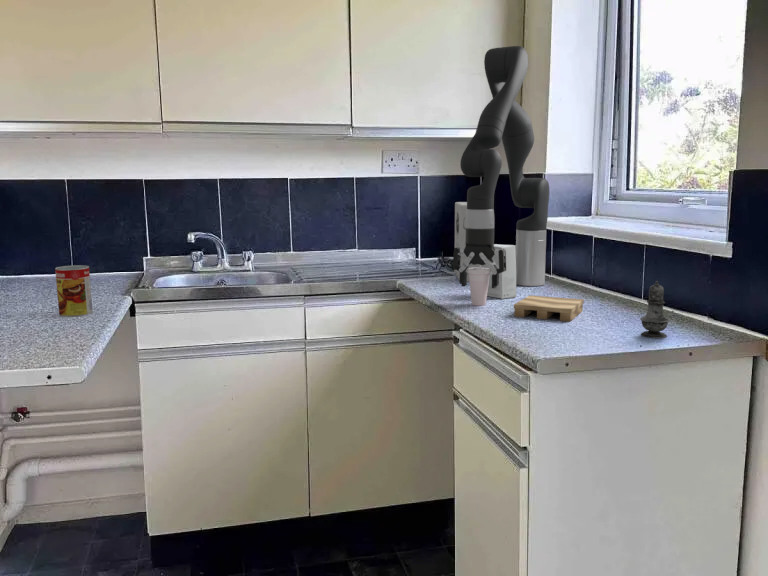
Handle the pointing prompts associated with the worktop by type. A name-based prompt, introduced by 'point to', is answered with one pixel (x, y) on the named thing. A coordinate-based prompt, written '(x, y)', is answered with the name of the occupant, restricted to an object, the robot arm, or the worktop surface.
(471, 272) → the smoothie
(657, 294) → the salt shaker
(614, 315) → the worktop surface
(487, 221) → the robot arm
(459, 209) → the cereal box
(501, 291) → the skincare box
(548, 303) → the tan wavy panel
